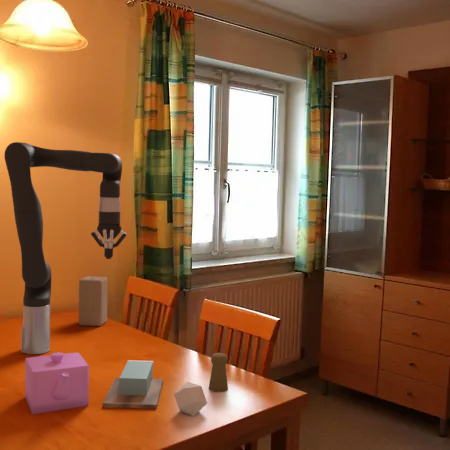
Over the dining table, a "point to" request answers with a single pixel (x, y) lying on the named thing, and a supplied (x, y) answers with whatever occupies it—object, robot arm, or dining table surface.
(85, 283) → the block
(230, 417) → the dining table surface
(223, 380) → the cork
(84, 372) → the teapot
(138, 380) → the pillar
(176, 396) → the die
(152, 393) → the board
